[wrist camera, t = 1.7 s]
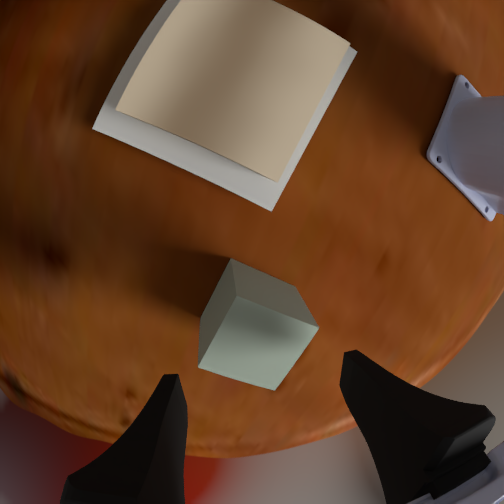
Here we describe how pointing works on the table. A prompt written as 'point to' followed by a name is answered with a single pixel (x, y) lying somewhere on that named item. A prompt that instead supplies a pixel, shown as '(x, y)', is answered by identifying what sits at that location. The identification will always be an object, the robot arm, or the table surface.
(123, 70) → the grey base block
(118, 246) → the table surface
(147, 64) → the beech top block
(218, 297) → the sage block
